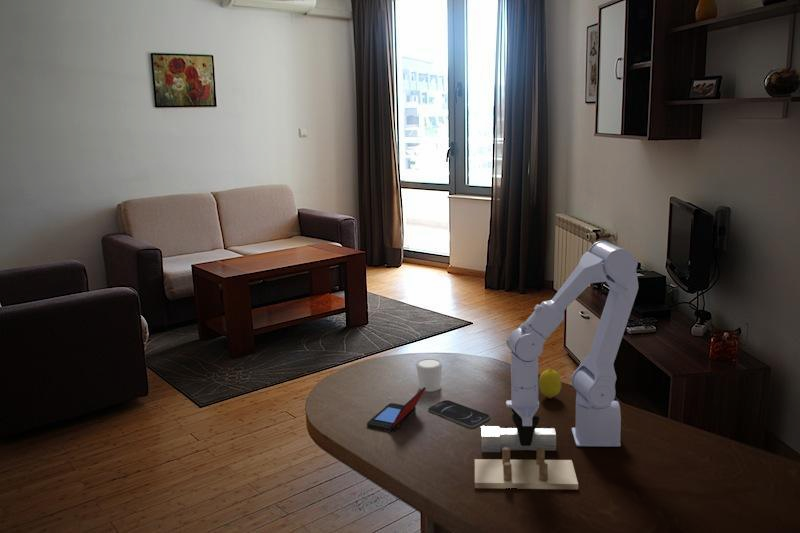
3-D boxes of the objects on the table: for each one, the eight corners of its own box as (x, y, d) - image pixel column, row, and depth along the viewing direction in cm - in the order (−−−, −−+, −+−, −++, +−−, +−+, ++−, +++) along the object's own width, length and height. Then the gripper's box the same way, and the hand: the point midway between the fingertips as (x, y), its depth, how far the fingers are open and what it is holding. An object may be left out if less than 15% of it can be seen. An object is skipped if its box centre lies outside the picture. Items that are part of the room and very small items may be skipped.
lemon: (564, 395, 173) (564, 366, 171) (556, 404, 168) (556, 374, 166) (543, 391, 176) (543, 363, 174) (535, 400, 171) (535, 370, 169)
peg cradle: (571, 465, 141) (571, 446, 140) (578, 489, 132) (578, 469, 131) (474, 464, 143) (474, 445, 142) (474, 488, 134) (474, 468, 133)
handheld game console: (390, 406, 173) (388, 379, 171) (428, 413, 168) (427, 385, 166) (365, 428, 162) (363, 399, 160) (405, 436, 157) (403, 406, 155)
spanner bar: (554, 442, 150) (554, 426, 149) (556, 452, 146) (556, 436, 145) (481, 441, 152) (481, 426, 151) (481, 452, 148) (481, 436, 147)
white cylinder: (443, 391, 179) (442, 367, 177) (417, 393, 179) (416, 368, 178) (442, 381, 186) (441, 357, 184) (417, 382, 186) (415, 358, 184)
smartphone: (446, 399, 174) (492, 415, 163) (446, 402, 174) (492, 419, 163) (425, 409, 169) (471, 426, 158) (426, 412, 169) (471, 430, 158)
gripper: (504, 370, 153) (505, 425, 156) (507, 398, 139) (508, 457, 142) (536, 370, 152) (536, 425, 155) (542, 398, 138) (542, 458, 141)
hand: (525, 441), depth 149 cm, fingers closed on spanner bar, 3 cm apart
